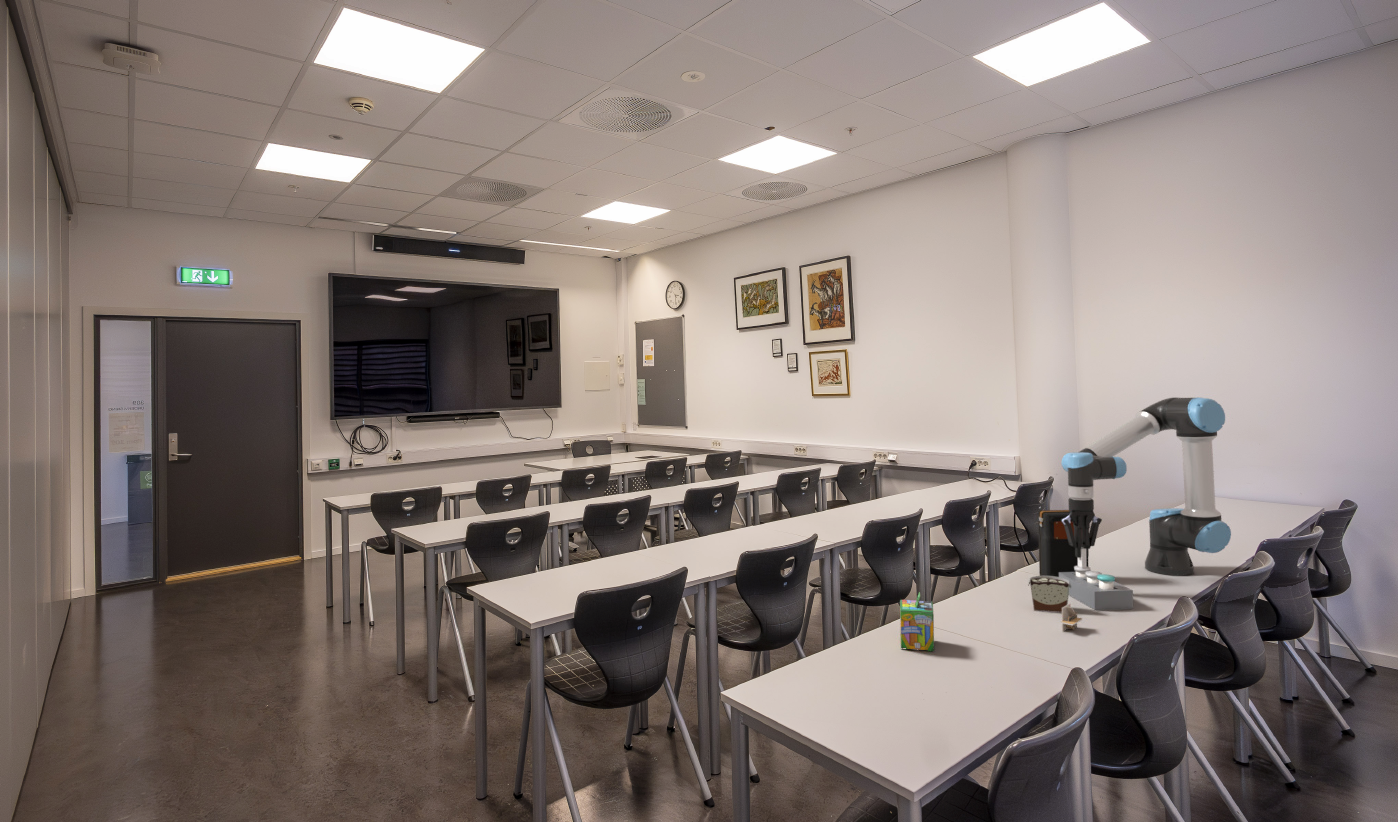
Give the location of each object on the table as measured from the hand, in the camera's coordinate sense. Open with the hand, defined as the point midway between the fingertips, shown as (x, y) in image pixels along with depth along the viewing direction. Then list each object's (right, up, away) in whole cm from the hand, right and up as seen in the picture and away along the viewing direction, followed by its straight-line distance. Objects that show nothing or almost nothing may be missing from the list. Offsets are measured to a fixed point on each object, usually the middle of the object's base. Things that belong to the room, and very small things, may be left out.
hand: (1082, 566), depth 234 cm
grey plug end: (0, -8, 0) cm, 8 cm away
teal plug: (0, -8, -14) cm, 16 cm away
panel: (0, -9, -7) cm, 11 cm away
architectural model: (-22, -12, -33) cm, 41 cm away
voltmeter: (+3, -8, +16) cm, 19 cm away
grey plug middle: (0, -9, -7) cm, 11 cm away
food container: (-19, -10, -14) cm, 26 cm away
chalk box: (-69, -13, -40) cm, 81 cm away
